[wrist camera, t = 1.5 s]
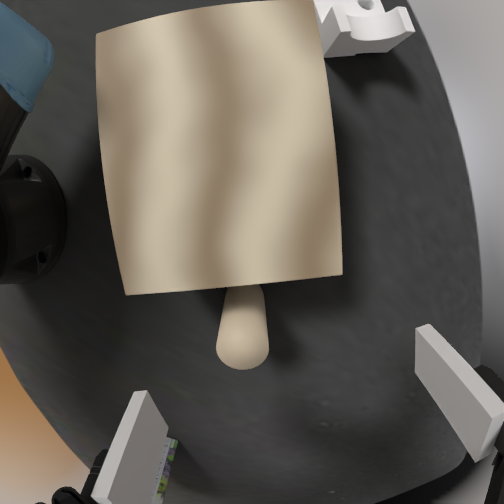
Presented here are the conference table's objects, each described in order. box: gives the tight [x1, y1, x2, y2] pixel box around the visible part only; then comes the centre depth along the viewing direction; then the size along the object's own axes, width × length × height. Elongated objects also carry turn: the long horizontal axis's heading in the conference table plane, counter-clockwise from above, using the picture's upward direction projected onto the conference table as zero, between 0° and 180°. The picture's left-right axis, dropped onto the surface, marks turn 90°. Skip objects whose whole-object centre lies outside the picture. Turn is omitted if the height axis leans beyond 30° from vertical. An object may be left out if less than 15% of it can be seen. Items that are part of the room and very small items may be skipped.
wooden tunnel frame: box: [96, 0, 342, 295], centre depth 24 cm, size 14×18×12 cm
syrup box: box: [150, 437, 178, 504], centre depth 33 cm, size 6×6×14 cm
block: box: [216, 284, 269, 370], centre depth 26 cm, size 7×22×10 cm, turn 6°
